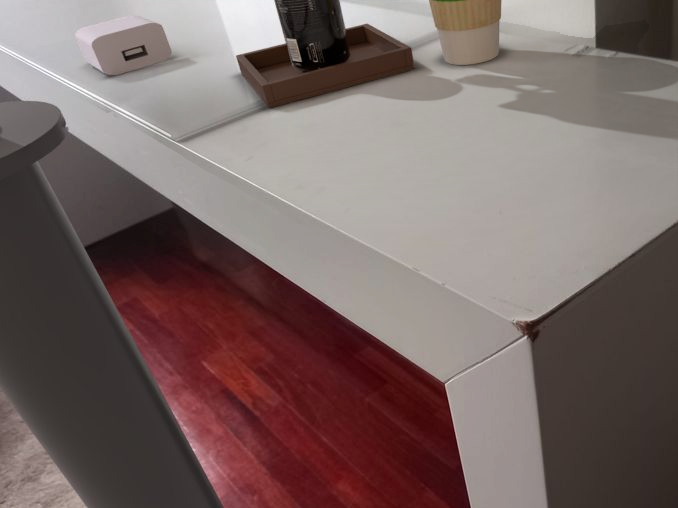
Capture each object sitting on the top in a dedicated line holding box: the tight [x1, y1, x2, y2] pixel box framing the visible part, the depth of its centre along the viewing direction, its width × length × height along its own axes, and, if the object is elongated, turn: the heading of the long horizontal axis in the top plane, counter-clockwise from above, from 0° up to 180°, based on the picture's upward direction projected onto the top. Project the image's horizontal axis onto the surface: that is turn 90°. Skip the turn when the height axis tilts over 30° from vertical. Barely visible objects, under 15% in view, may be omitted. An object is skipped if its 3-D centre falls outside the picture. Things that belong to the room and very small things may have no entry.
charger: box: [74, 14, 173, 76], centre depth 94 cm, size 5×9×15 cm
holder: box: [235, 23, 416, 109], centre depth 78 cm, size 17×15×2 cm
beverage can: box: [273, 0, 351, 73], centre depth 75 cm, size 7×7×12 cm
